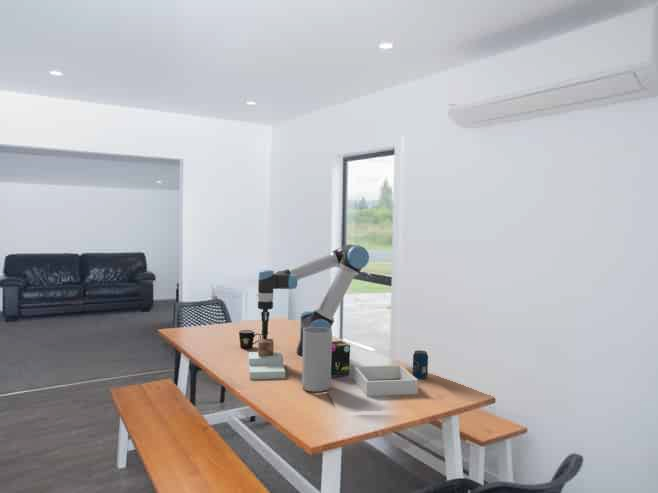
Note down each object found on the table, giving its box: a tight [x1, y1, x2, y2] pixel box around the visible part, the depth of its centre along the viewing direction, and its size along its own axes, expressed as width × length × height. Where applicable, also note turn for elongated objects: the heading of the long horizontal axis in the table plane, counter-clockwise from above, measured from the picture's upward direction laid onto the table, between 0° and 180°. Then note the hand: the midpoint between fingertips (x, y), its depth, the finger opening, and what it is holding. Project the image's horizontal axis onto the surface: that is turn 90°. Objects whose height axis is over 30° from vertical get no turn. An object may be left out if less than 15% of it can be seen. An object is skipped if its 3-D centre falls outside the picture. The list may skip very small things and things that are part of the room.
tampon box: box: [331, 340, 351, 379], centre depth 227 cm, size 11×9×15 cm
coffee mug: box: [238, 329, 262, 350], centre depth 269 cm, size 12×9×10 cm
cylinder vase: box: [301, 327, 333, 393], centre depth 207 cm, size 12×12×25 cm
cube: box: [257, 338, 275, 357], centre depth 234 cm, size 7×7×7 cm
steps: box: [247, 351, 286, 380], centre depth 229 cm, size 16×23×6 cm
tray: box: [352, 364, 419, 397], centre depth 211 cm, size 22×22×6 cm
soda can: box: [412, 349, 429, 380], centre depth 226 cm, size 7×7×12 cm
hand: (264, 347), depth 242 cm, fingers closed
